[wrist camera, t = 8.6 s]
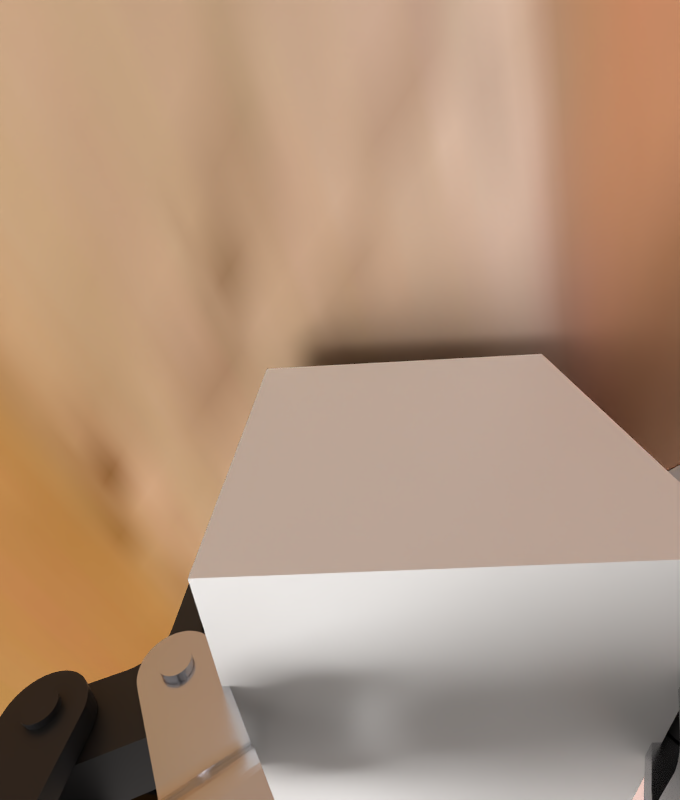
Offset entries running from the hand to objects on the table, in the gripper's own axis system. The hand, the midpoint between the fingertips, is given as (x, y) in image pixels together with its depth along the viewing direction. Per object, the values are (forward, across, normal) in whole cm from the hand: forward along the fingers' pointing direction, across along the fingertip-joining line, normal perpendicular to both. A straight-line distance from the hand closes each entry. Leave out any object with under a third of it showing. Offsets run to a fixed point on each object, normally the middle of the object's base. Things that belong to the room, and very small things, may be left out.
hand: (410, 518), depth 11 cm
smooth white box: (+2, 0, 0) cm, 2 cm away
